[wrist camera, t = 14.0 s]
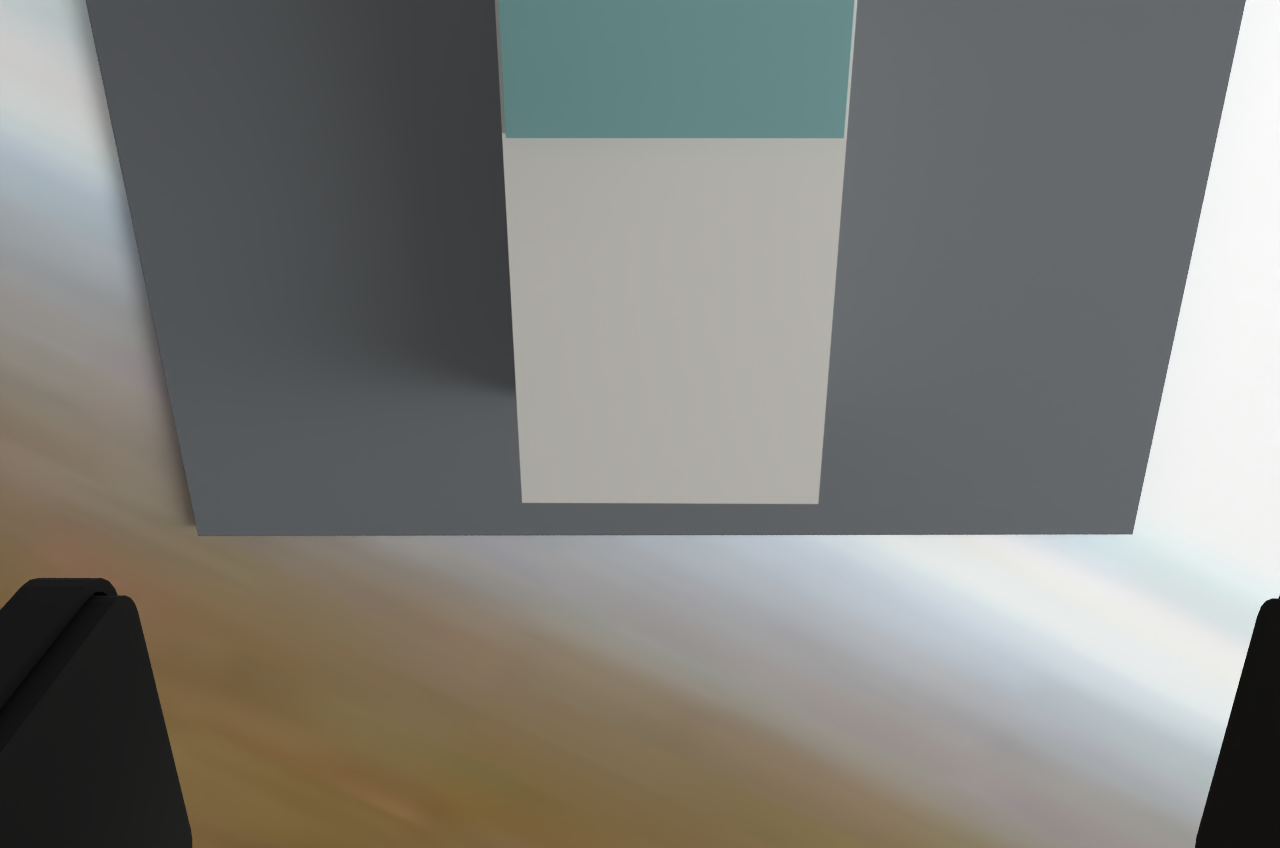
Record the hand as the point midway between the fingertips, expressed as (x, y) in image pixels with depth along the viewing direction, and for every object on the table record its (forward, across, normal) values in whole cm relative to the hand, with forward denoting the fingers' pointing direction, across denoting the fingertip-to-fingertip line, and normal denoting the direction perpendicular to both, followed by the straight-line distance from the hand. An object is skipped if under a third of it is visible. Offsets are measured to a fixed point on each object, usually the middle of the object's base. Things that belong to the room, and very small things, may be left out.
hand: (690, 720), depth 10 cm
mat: (+18, 0, 0) cm, 18 cm away
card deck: (+17, 0, 0) cm, 17 cm away
